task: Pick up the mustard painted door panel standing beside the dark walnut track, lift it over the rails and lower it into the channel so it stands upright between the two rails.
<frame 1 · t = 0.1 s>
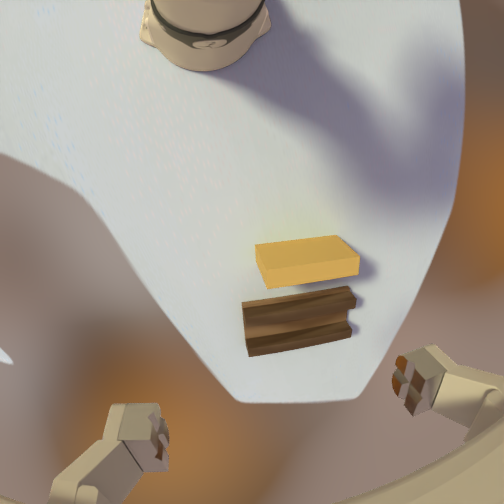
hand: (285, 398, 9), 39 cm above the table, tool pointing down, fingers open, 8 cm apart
sliding track: (296, 316, 56), on the table
door panel: (297, 247, 51), on the table
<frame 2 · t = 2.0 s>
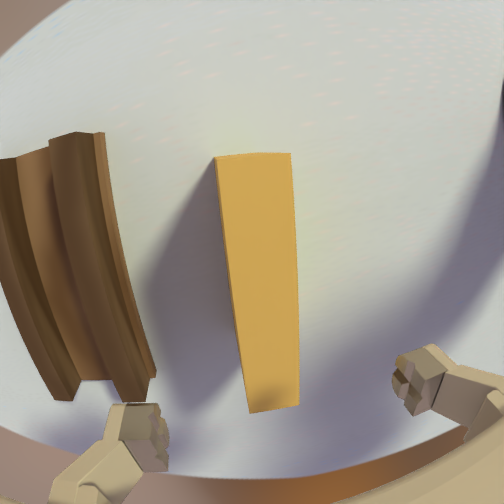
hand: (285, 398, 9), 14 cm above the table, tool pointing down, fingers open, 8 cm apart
sliding track: (71, 274, 21), on the table
door panel: (245, 251, 23), on the table
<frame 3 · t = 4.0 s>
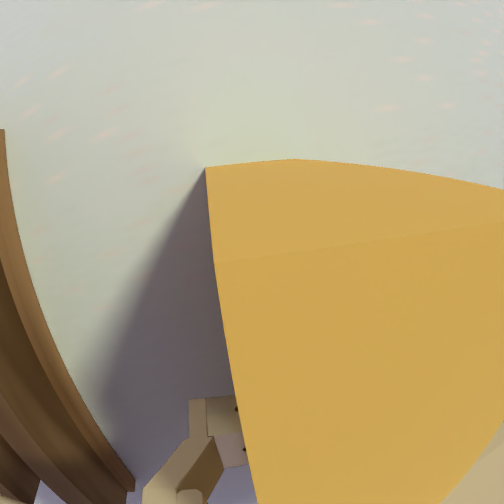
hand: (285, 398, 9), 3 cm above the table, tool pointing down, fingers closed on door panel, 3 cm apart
door panel: (267, 344, 12), on the table, touching gripper
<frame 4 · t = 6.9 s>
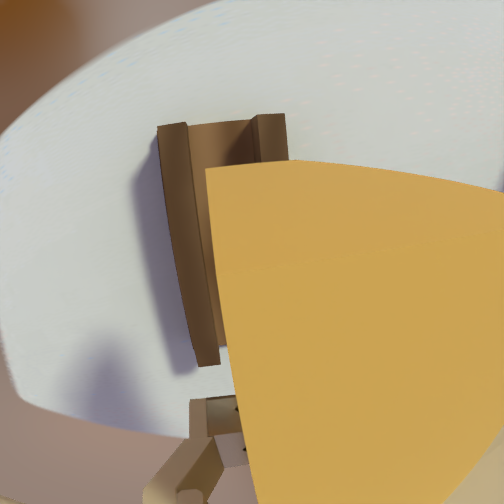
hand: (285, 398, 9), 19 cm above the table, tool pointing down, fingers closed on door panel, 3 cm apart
sliding track: (231, 239, 27), on the table
door panel: (267, 345, 12), point 16 cm above the table, touching gripper
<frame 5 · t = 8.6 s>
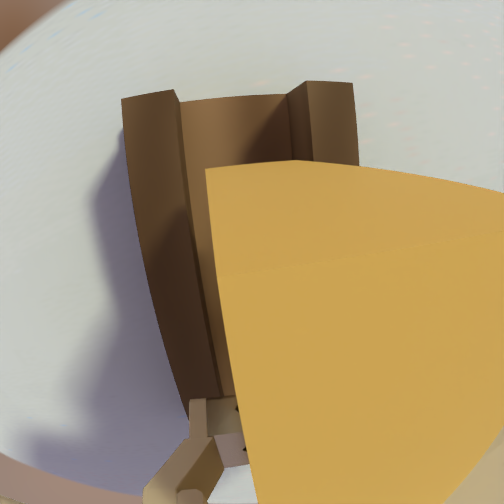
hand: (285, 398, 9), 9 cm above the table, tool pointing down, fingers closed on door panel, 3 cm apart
sliding track: (250, 287, 17), on the table
door panel: (267, 345, 12), point 5 cm above the table, touching gripper
when the fingers open (6 cm above the table, at t = 9.9 s): door panel drops 1 cm, resting on sliding track.
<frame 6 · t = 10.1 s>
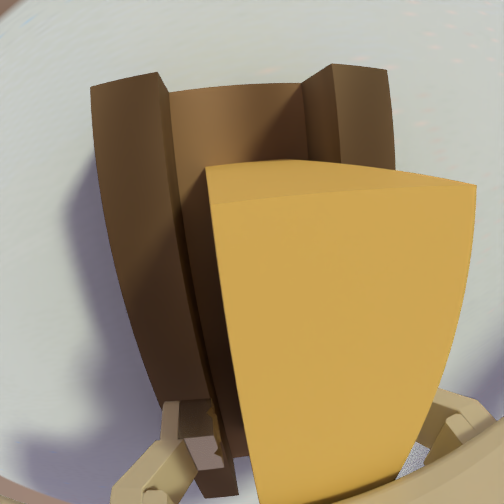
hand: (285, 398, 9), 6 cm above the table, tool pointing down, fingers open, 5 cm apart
sliding track: (255, 315, 14), on the table
door panel: (261, 326, 13), point 1 cm above the table, touching sliding track
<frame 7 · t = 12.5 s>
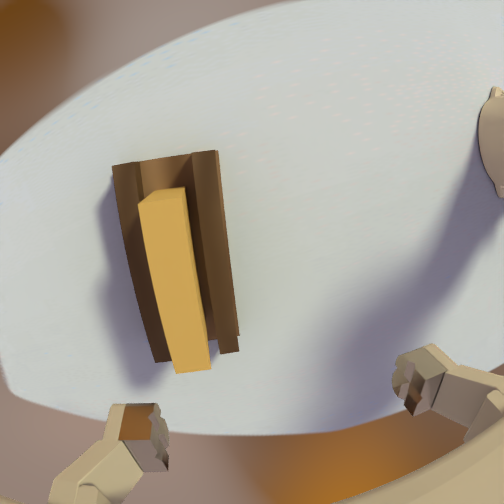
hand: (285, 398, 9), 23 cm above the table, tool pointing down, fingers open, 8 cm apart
sliding track: (179, 255, 31), on the table
door panel: (180, 258, 30), point 1 cm above the table, touching sliding track
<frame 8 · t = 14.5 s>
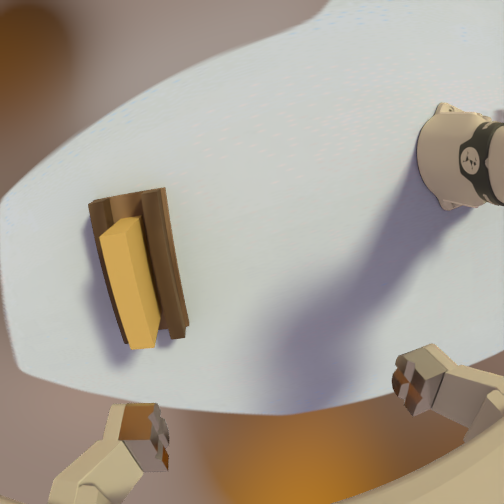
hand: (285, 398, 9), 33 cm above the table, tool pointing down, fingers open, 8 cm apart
sliding track: (142, 264, 41), on the table
door panel: (141, 267, 40), point 1 cm above the table, touching sliding track
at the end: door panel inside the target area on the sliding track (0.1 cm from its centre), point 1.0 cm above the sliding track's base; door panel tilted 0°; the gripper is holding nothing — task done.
